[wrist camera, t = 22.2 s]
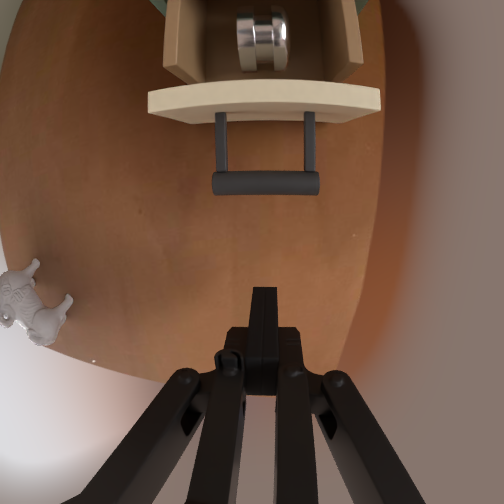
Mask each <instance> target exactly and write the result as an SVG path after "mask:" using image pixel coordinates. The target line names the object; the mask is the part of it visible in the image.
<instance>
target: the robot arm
mask: <svg viewBox="0 0 504 504" xmlns="http://www.w3.org/2000/svg"><path fill="white" fill-rule="evenodd" d="M214 360H215V366H216V369H215V370H213V371H211V372H207V373H200V374H199V373H198V372H197V371H196V370H194V369H192V368H182V369H179V370H177V371H176V372H175V373H173V375H172V376H171V377H170V379H169V380H168V381H167V383H166V384H165V385H164V387H163V388H162V389H161V390H160V392H159V393H158V395H157V396H156V397H155V398H154V400H153V401H152V402H151V404H150V405H149V406H148V408H147V409H146V410H145V411H144V413H143V414H142V415H141V417H140V418H139V419H138V421H137V422H136V423H135V425H134V426H133V427H132V428H131V430H130V431H129V432H128V434H127V435H126V436H125V437H124V439H123V440H122V441H121V443H120V444H119V445H118V446H117V448H116V449H115V450H114V452H113V453H112V455H110V457H109V458H108V459H107V461H106V462H105V463H104V464H103V466H102V467H101V468H100V469H99V471H98V472H97V473H96V475H95V476H94V477H93V478H92V480H91V481H90V482H89V484H88V485H87V486H86V488H85V489H84V490H83V491H82V492H81V494H79V495H77V496H75V497H73V498H71V499H69V500H67V501H65V502H63V503H61V504H152V502H153V501H154V499H155V498H156V496H157V495H158V493H159V491H160V490H161V488H162V487H163V485H164V483H165V482H166V480H167V479H168V477H169V475H170V473H171V472H172V471H173V469H174V467H175V466H176V464H177V462H178V460H179V459H180V457H181V456H182V454H183V452H184V451H185V449H186V447H187V445H188V444H189V442H190V440H191V439H192V437H193V435H194V433H195V432H196V430H197V428H198V427H199V425H200V423H201V421H202V419H203V418H204V416H205V419H204V424H203V428H202V432H201V437H200V441H199V446H198V450H197V455H196V459H195V464H194V468H193V473H192V477H191V482H190V486H189V491H188V495H187V499H186V502H185V504H236V495H237V486H238V476H239V468H240V457H241V448H242V439H243V429H244V420H245V410H246V395H266V396H276V407H275V412H276V422H275V423H276V425H275V426H276V427H275V469H274V499H273V504H318V489H317V473H316V462H315V461H316V460H315V448H314V436H313V425H312V416H311V413H312V414H315V417H316V419H317V421H318V424H319V426H320V428H321V430H322V433H323V435H324V437H325V440H326V442H327V444H328V446H329V449H330V451H331V453H332V455H333V458H334V460H335V462H336V465H337V467H338V469H339V471H340V474H341V476H342V478H343V480H344V483H345V485H346V487H347V489H348V492H349V494H350V496H351V498H352V500H353V503H354V504H426V503H425V502H424V500H423V498H422V497H421V495H420V493H419V491H418V490H417V488H416V486H415V484H414V483H413V481H412V479H411V477H410V476H409V474H408V472H407V471H406V469H405V467H404V466H403V464H402V463H401V461H400V459H399V457H398V455H397V454H396V452H395V451H394V449H393V447H392V445H391V444H390V442H389V441H388V439H387V437H386V435H385V434H384V432H383V431H382V429H381V427H380V426H379V424H378V423H377V421H376V419H375V417H374V416H373V414H372V413H371V411H370V410H369V408H368V406H367V405H366V403H365V401H364V400H363V398H362V396H361V395H360V393H359V391H358V390H357V388H356V386H355V385H354V383H353V382H352V380H351V378H350V377H349V376H348V375H347V374H346V373H344V372H342V371H338V370H333V371H329V372H327V373H326V374H325V375H324V376H323V375H318V374H314V373H312V372H310V371H308V370H307V369H306V368H305V366H304V363H303V355H302V347H301V339H300V332H299V331H298V330H297V329H296V327H278V306H277V287H253V294H252V302H251V310H250V318H249V326H248V327H232V328H231V329H230V330H229V331H228V332H227V336H226V340H225V345H224V349H223V350H220V351H218V352H217V353H216V354H215V356H214ZM205 414H206V415H205Z"/></svg>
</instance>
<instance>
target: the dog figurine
mask: <svg viewBox="0 0 504 504" xmlns="http://www.w3.org/2000/svg"><path fill="white" fill-rule="evenodd" d="M39 266H40V262H39V261H38V260H37V259H36V258H35V259H34V260H33V261H32V264H31V265H29V266H28V267H27V268H25V269H24V270H22V271H12V270H9V271H7V272H4V273H3V274H2V275H1V276H0V324H1V326H3V327H4V328H9V327H10V326H12V325H13V322H14V321H16V322H17V323H18V324H19V325H21V326H22V327H23V328H24V329H25V330H26V331H27V335H28V337H29V339H30V340H31V341H32V342H33V343H34V344H36V345H38V346H41V345H50V344H52V343H54V341H55V340H56V338H57V335H58V331H59V330H60V327H61V326H62V325H63V323H64V322H65V321H66V317H67V316H66V315H65V313H66V311H67V310H68V309H69V307H70V306H71V305H72V303H73V298H72V297H71V296H70V295H69V294H66V296H65V300H64V301H63V302H62V303H61V304H59V305H58V306H56V307H54V308H49V307H47V306H45V305H44V304H43V303H42V302H41V300H40V298H39V297H38V295H37V294H36V292H35V290H34V289H33V287H34V286H35V281H34V279H33V278H32V276H33V274H34V272H35V270H36V269H37V268H38V267H39ZM4 316H6V317H7V319H4Z"/></svg>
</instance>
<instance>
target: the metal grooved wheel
mask: <svg viewBox="0 0 504 504" xmlns="http://www.w3.org/2000/svg"><path fill="white" fill-rule="evenodd" d="M270 12H271V14H266V15H255V9H254V6H238V8H237V41H238V52H239V60H240V66H241V70H242V73H243V74H252V73H258V63H273V72H274V73H282V72H285V71H286V70H287V69H288V68H289V65H290V59H291V31H290V20H289V15H288V12H287V10H286V9H285V8H284V7H282V6H279V5H271V7H270Z"/></svg>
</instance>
